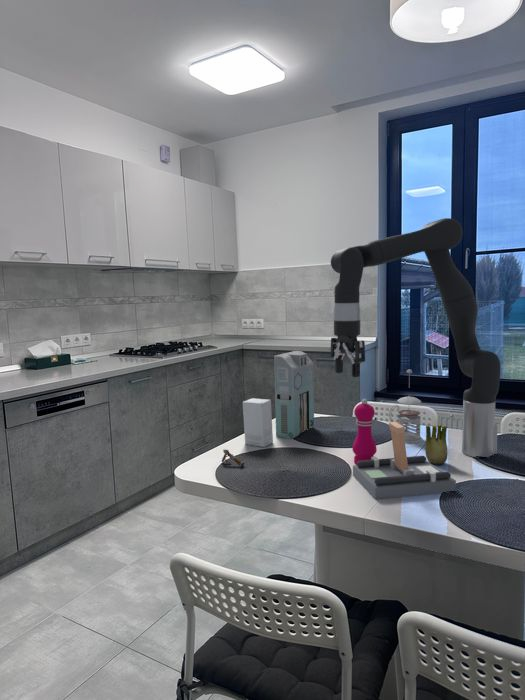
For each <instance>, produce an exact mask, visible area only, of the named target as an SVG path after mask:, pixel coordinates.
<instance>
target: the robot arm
mask: <svg viewBox="0 0 525 700" xmlns="http://www.w3.org/2000/svg"><path fill="white" fill-rule="evenodd" d="M463 231H464V230H463V226H462V225H461V223H460V222H458V220H456V219H454V218H449V217H447V218H446V217H445V218H441V219H437V220H434V221H431V222H428V223H426V224H425V225H424V226H423V227H422V229H418V230H415V231H411V232H407V233H402V234H398V235H392V236H389V237H383V238H379V239H375V240H372V241H369V242H367V243H364V244H361V245H355V246H350V247H346V248H341V249H339V250H337V251H335V252H334V253H333V254H332V256H331V259H330V266H331V269H332V270H333V271H334V272H336V273H338V274H339V280H338V282H337V283H336V284H335V287H334V305H333V306H334V307H333V335H334V336H336V337H331V339H330V358H333V360H334V361H335V367H334V368H335V369H334V370H335V373H337V374H341V373H343V372H344V360H343V358H344V357H345V355H346V356H347V357H348V358H349V359H350V362H351V363H352V364H351V377H353V378H358V377H360V374H361V363H365V361H366V347H365V340H358V336H360V335H361V308H360V307H361V306H360V287H361V281H362V279H363V272H364V268H368V267H375V266H379V265H383V264H386V263H387V264H388V263H390V262H394V261H397V260H401V259H403V258H407V257H409V256H413V255H415V254H419V253H423V252H424V255H425V256H426V259H427V261H428V263H429V266H430V268H431V270H432V273H433V276H434V280H435V282H436V286H437V289H438V291H439V296H440V300H441V301H442V302H441V303H442V305H443V309H444V311H445V314H446V315H445V316H446V317H447V321H448V324H449V328H450V331H451V334H452V337H453V341H454V346H455V351H456V357H457V362H458V366H459V368H460V370H461V372H462V373H463V374H464V375H465V376H467V377H469V378H471V379H472V380H471V387H470V388H468V389H465V390H464V392H463V397H462V398H463V399H462V400H463V401H462V404H463V405H462V434H461V436H462V438H461V439H462V440H461V453H463V454H464V455H465V456H469V457H471V458H472V457H473V458H477V457H476V456H491V455H493V454H498V453H497V451H498V449H497V448H498V425H497V424H496V423H495V422H496V399H497V398H496V397H497V396H498V393H499V389H500V383H501V382H500V380H501V372H502V371H501V369H502V368H501V360H500V358H499V355H497V354H496V353H495V352H494V351H490V350H485V349H481V347H480V345H479V341H478V338H477V335H476V323H477V317H478V303H477V300H476V297H475V293H474V289H473V288H472V286H471V284H470V283H469V280H467V278H466V277H465V276H464V275H463V274H462V273H461V271H460V270H459V269H458V268H457V267H456V265H455V263H454V260H453V258H452V255H451V249H452V250H453V249H454V248H456V247H457V246H458V245H459V244H460V243H461V241H462V240H463V239H462V238H463V236H464V235H463V234H464V232H463ZM493 456H494V455H493Z"/></svg>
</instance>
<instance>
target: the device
mask: <svg viewBox="0 0 525 700" xmlns="http://www.w3.org/2000/svg"><path fill="white" fill-rule="evenodd" d="M273 357H274V362H273V363H274V394H275V395H274V402H275V405H274V406H275V412H274V413H275V436H276V437H281V438H287V439H295V438H296V437H299V436H300V435H301V434H300V433H302V432H303V431H305V430H307V429H309V430H311V429H313V428H314V427H315V396H314V395H315V382H314V381H315V379H314V375H315V374H314V372H315V371H314V368H315V367H314V366H315V365H314V363H313V361H312V359H310V357H309V356H308V353H305V352H304V351H301V350H293V351H290V352H284V353H281V354H277V355H274V356H273ZM312 427H313V428H312ZM310 428H311V429H310ZM307 431H308V430H307ZM305 432H306V431H305ZM299 434H300V435H299ZM302 434H303V433H302Z"/></svg>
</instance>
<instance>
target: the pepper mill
mask: <svg viewBox="0 0 525 700" xmlns="http://www.w3.org/2000/svg"><path fill="white" fill-rule="evenodd" d="M375 412H376V411H375V408H374V407H373V405H372V404H369V401H368V400H367V398H362V400H361V403H359V404H357V405H356V406H355V408H354V416H355V417H356V420H355V421H356V422H355V424H356V425H357V433H356V437H355V439H354V441H353V443H352V453H354V456H353V462H354V465H357V462H358V461H363V460H371V457H375V455H376V454H377V445H376V444H377V443H376V442H375V440H374V438H373V434H372V426H373V425H374V423H373V422H374V416H375V414H376V413H375Z"/></svg>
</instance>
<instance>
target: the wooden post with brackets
mask: <svg viewBox="0 0 525 700" xmlns="http://www.w3.org/2000/svg"><path fill="white" fill-rule="evenodd" d="M222 451H223V453H224V454H223V457H222V459H221V462H222V463H225V464H227V465H228V464H229V465H230V464H231V465H232V461H234V462H235V463H236V464H237V465H238V468H242V467H243V466H242V465H245V463H246V461H244V460H243V461H242V460H239V459H238V458H237V457H236V456H235V455H233V453H232V454H231V453H230V451H229V450H228V449H226V448H225V449H223V450H222ZM227 457H229V459H226V458H227ZM231 460H232V461H231ZM241 466H242V467H241Z"/></svg>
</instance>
